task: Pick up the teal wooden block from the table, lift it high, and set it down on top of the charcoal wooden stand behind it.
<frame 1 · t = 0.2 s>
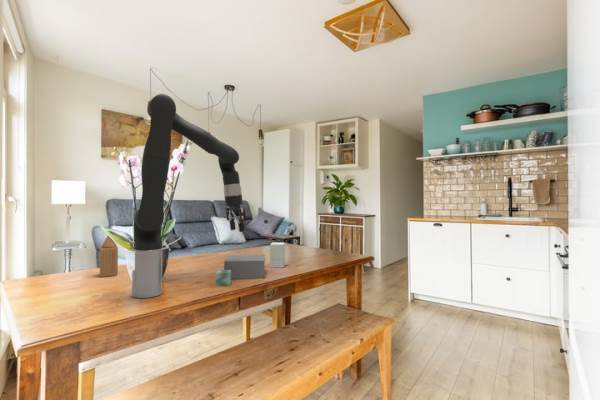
hand: (237, 230, 132), 22 cm above the table, tool pointing down, fingers open, 8 cm apart
teal block: (223, 284, 127), on the table
decorative item: (108, 275, 140), on the table
charcoal stand: (245, 274, 143), on the table
supplement box: (277, 266, 161), on the table
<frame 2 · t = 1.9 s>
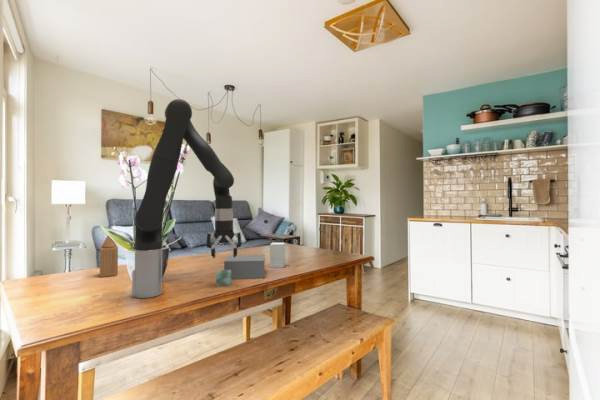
hand: (224, 257, 127), 11 cm above the table, tool pointing down, fingers open, 8 cm apart
nothing on the table moved.
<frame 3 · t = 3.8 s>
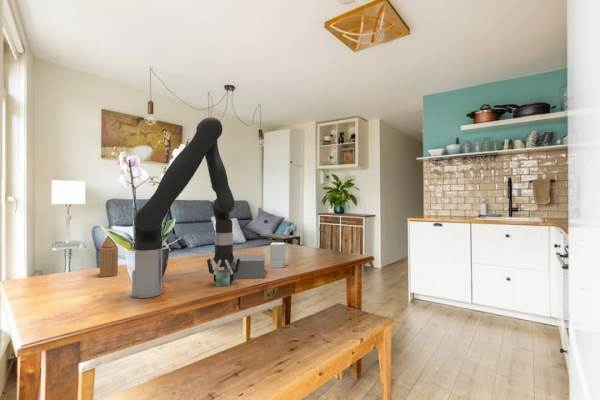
hand: (223, 282, 127), 1 cm above the table, tool pointing down, fingers closed on teal block, 5 cm apart
teal block: (223, 284, 127), on the table, touching gripper
everything else where it was.
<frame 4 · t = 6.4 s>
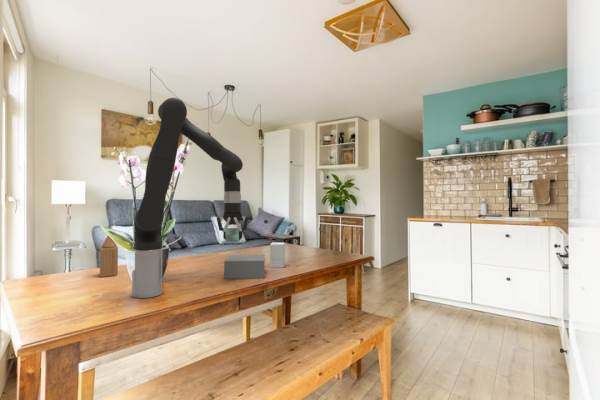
hand: (233, 239, 132), 18 cm above the table, tool pointing down, fingers closed on teal block, 5 cm apart
teal block: (232, 241, 132), point 18 cm above the table, touching gripper
everything else where it was.
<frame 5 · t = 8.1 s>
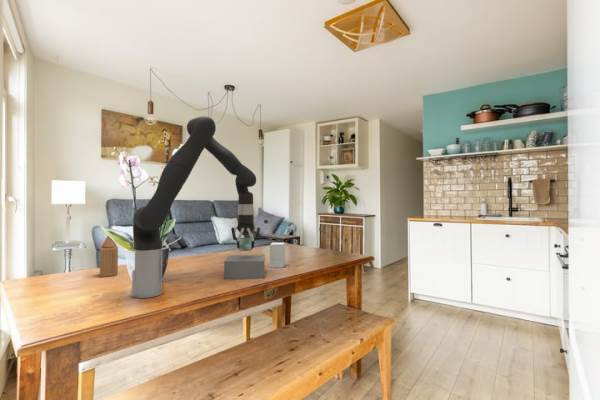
hand: (245, 248, 143), 12 cm above the table, tool pointing down, fingers closed on teal block, 5 cm apart
teal block: (245, 249, 143), point 12 cm above the table, touching gripper
everything else where it was.
when the fingers open (10 cm above the table, at t = 9.4 s): teal block drops 1 cm, resting on charcoal stand.
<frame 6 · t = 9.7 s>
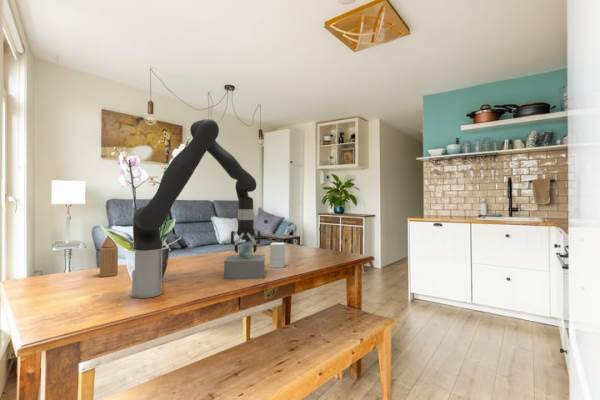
hand: (245, 252, 143), 11 cm above the table, tool pointing down, fingers open, 8 cm apart
teal block: (245, 257, 143), point 8 cm above the table, touching charcoal stand
everything else where it was.
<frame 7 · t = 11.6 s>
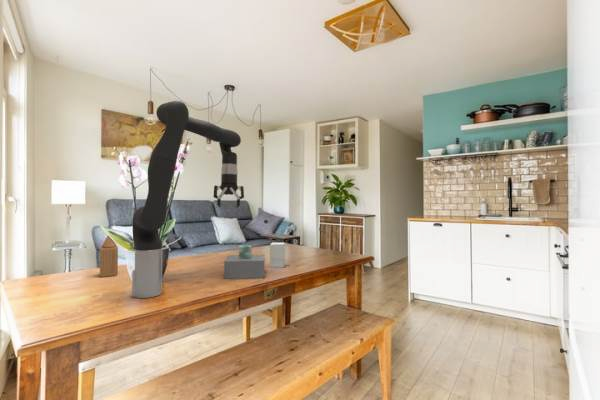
hand: (228, 207, 144), 32 cm above the table, tool pointing down, fingers open, 8 cm apart
nothing on the table moved.
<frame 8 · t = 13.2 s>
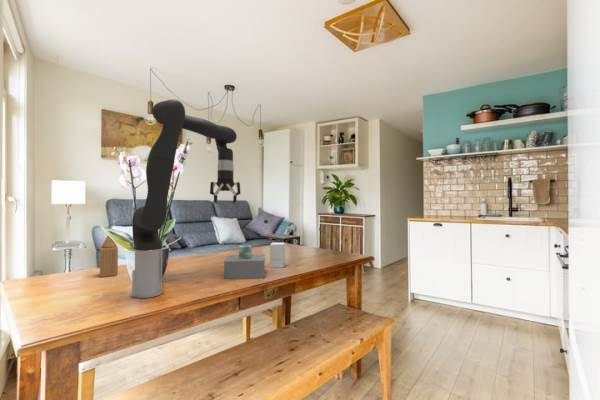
hand: (225, 203, 144), 34 cm above the table, tool pointing down, fingers open, 8 cm apart
nothing on the table moved.
at the end: teal block inside the target area on the charcoal stand (0.1 cm from its centre), point 8.0 cm above the charcoal stand's base; teal block tilted 0°; the gripper is holding nothing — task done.
